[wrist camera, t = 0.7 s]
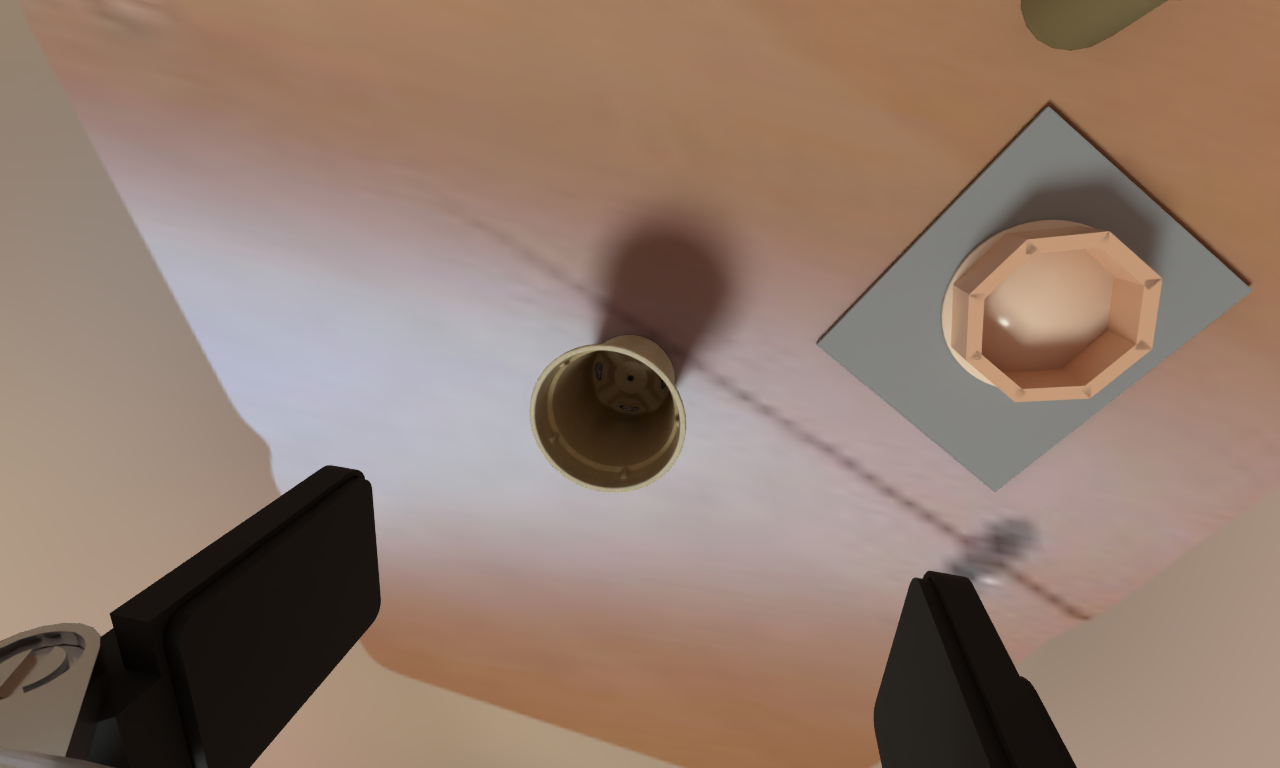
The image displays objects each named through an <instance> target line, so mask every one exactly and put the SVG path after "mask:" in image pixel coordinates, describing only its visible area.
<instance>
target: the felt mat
mask: <svg viewBox="0 0 1280 768" xmlns="http://www.w3.org/2000/svg"><path fill="white" fill-rule="evenodd" d="M1049 219H1054V220H1066V221H1071V222H1076V223H1080V224H1084V225H1087V226H1090V227H1092V228H1095V229H1100V230H1106V231H1110V232H1111V233H1112V234H1113V235H1114V236H1115V237H1117V238H1118V239H1119V240H1120V241H1121V242H1122V243H1123V244H1124V245H1126V246H1127V247H1128V248H1129V249H1130V250H1131V251H1132V252H1133V253H1135V254H1136V255H1137V256H1138V257H1139V258H1140V259H1141V260H1142V261H1144V262H1145V263H1146V264H1147V265H1148V266H1149V267H1150V268H1151V269H1152V270H1154V271H1155V272H1156V273H1157V274H1158V275H1159V276H1160V277H1161V278H1163V279H1162V286H1161V293H1160V299H1159V306H1158V313H1157V320H1156V327H1155V333H1154V340H1153V347H1152V350H1150V351H1149V352H1148V353H1147V354H1145V355H1144V356H1143V357H1142V358H1140V359H1139V360H1138V361H1137V362H1135V363H1134V364H1133V365H1132V366H1130V367H1129V368H1128V369H1127V370H1125V371H1124V372H1123V373H1122V374H1120V375H1119V376H1118V377H1117V378H1115V379H1114V380H1113V381H1112V382H1110V383H1109V384H1108V385H1106V386H1105V387H1104V388H1103V389H1101V390H1100V391H1099V392H1098V393H1096V394H1095V395H1094V396H1093V397H1091V398H1090V399H1070V400H1050V401H1029V402H1014V401H1013V400H1012V399H1011V398H1009V397H1008V396H1007V395H1006V394H1005V393H1004V392H1002V391H1001V390H1000V389H999V388H998V387H995V386H993V385H990V384H987V383H985V382H983V381H981V380H979V379H977V378H976V377H974V376H973V375H972V374H970V373H969V372H967V371H966V370H965V369H964V368H963V367H962V366H961V365H960V364H959V363H958V362H957V361H956V359H955V358H954V357H953V355H952V354H951V352H950V351H949V349H948V347H947V345H946V343H945V340H944V337H943V333H942V328H941V315H940V314H941V304H942V300H943V296H944V292H945V290H946V287H947V285H948V282H949V280H950V279H951V277H952V275H953V273H954V271H955V270H956V269H957V267H958V266H959V264H960V263H961V262H962V261H963V260H964V258H965V257H966V256H967V255H968V254H969V253H970V252H971V251H972V250H973V249H975V248H976V247H977V246H978V245H979V244H981V243H982V242H983V241H985V240H986V239H988V238H989V237H991V236H993V235H995V234H996V233H998V232H1000V231H1002V230H1004V229H1007V228H1009V227H1012V226H1014V225H1018V224H1021V223H1025V222H1030V221H1036V220H1049ZM1251 291H1252V289H1251V288H1249V287H1248V286H1247V285H1246V284H1245V283H1244V282H1243V281H1242V280H1241V279H1239V278H1238V277H1237V276H1236V275H1235V274H1234V273H1233V272H1232V271H1231V270H1229V269H1228V268H1227V267H1226V266H1225V265H1224V264H1223V263H1222V262H1221V261H1220V260H1218V259H1217V258H1216V257H1215V256H1214V255H1213V254H1212V253H1211V252H1210V251H1208V250H1207V249H1206V248H1205V247H1204V246H1203V245H1202V244H1201V243H1200V242H1198V241H1197V240H1196V239H1195V238H1194V237H1193V236H1192V235H1191V234H1190V233H1188V232H1187V231H1186V230H1185V229H1184V228H1183V227H1182V226H1181V225H1180V224H1179V223H1177V222H1176V221H1175V220H1174V219H1173V218H1172V217H1171V216H1170V215H1169V214H1167V213H1166V212H1165V211H1164V210H1163V209H1162V208H1161V207H1160V206H1159V205H1157V204H1156V203H1155V202H1154V201H1153V200H1152V199H1151V198H1150V197H1149V196H1148V195H1146V194H1145V193H1144V192H1143V191H1142V190H1141V189H1140V188H1139V187H1138V186H1136V185H1135V184H1134V183H1133V182H1132V181H1131V180H1130V179H1129V178H1128V177H1126V176H1125V175H1124V174H1123V173H1122V172H1121V171H1120V170H1119V169H1118V168H1117V167H1115V166H1114V165H1113V164H1112V163H1111V162H1110V161H1109V160H1108V159H1107V158H1105V157H1104V156H1103V155H1102V154H1101V153H1100V152H1099V151H1098V150H1097V149H1095V148H1094V147H1093V146H1092V145H1091V144H1090V143H1089V142H1088V141H1087V140H1085V139H1084V138H1083V137H1082V136H1081V135H1080V134H1079V133H1078V132H1077V131H1076V130H1074V129H1073V128H1072V127H1071V126H1070V125H1069V124H1068V123H1067V122H1066V121H1064V120H1063V119H1062V118H1061V117H1060V116H1059V115H1058V114H1057V113H1056V112H1054V111H1053V110H1052V109H1051V108H1050V107H1049V106H1047V107H1045V108H1044V109H1043V110H1042V111H1041V112H1040V113H1039V114H1038V115H1037V116H1036V117H1035V118H1034V119H1033V120H1032V121H1031V122H1030V123H1029V124H1028V125H1027V126H1026V127H1025V128H1024V129H1023V130H1022V131H1021V133H1020V134H1019V135H1018V136H1017V137H1016V138H1015V139H1014V140H1013V141H1012V142H1011V143H1010V144H1009V145H1008V146H1007V147H1006V148H1005V149H1004V150H1003V151H1002V152H1001V153H1000V154H999V155H998V156H997V157H996V158H995V159H994V160H993V161H992V162H991V163H990V165H989V166H988V167H987V168H986V169H985V170H984V171H983V172H982V173H981V174H980V175H979V176H978V177H977V178H976V179H975V180H974V181H973V182H972V183H971V184H970V185H969V186H968V187H967V188H966V189H965V190H964V191H963V192H962V193H961V194H960V195H959V197H958V198H957V199H956V200H955V201H954V202H953V203H952V204H951V205H950V206H949V207H948V208H947V209H946V210H945V211H944V212H943V213H942V214H941V215H940V216H939V217H938V218H937V219H936V220H935V221H934V222H933V223H932V224H931V225H930V226H929V228H928V229H927V230H926V231H925V232H924V233H923V234H922V235H921V236H920V237H919V238H918V239H917V240H916V241H915V242H914V243H913V244H912V245H911V246H910V247H909V248H908V249H907V250H906V251H905V252H904V253H903V254H902V255H901V256H900V257H899V258H898V260H897V261H896V262H895V263H894V264H893V265H892V266H891V267H890V268H889V269H888V270H887V271H886V272H885V273H884V274H883V275H882V276H881V277H880V278H879V279H878V280H877V281H876V282H875V283H874V284H873V285H872V286H871V287H870V288H869V289H868V290H867V292H866V293H865V294H864V295H863V296H862V297H861V298H860V299H859V300H858V301H857V302H856V303H855V304H854V305H853V306H852V307H851V308H850V309H849V310H848V311H847V312H846V313H845V314H844V315H843V316H842V317H841V318H840V319H839V320H838V321H837V322H836V324H835V325H834V326H833V327H832V328H831V329H830V330H829V331H828V332H827V333H826V334H825V335H824V336H823V337H822V338H821V339H820V340H819V341H818V342H817V343H816V344H817V345H818V346H819V347H820V348H821V349H822V350H824V351H825V352H826V353H827V354H828V355H830V356H831V357H832V358H833V359H834V360H836V361H837V362H838V363H839V364H840V365H842V366H843V367H844V368H845V369H847V370H848V371H849V372H850V373H851V374H853V375H854V376H855V377H856V378H857V379H859V380H860V381H861V382H862V383H863V384H865V385H866V386H867V387H868V388H869V389H871V390H872V391H873V392H874V393H875V394H877V395H878V396H879V397H880V398H881V399H883V400H884V401H885V402H886V403H888V404H889V405H890V406H891V407H892V408H894V409H895V410H896V411H897V412H898V413H900V414H901V415H902V416H903V417H904V418H906V419H907V420H908V421H909V422H910V423H912V424H913V425H914V426H915V427H916V428H918V429H919V430H920V431H921V432H923V433H924V434H925V435H926V436H927V437H929V438H930V439H931V440H932V441H933V442H935V443H936V444H937V445H938V446H939V447H941V448H942V449H943V450H944V451H945V452H947V453H948V454H949V455H950V456H951V457H953V458H954V459H955V460H956V461H958V462H959V463H960V464H961V465H962V466H964V467H965V468H966V469H967V470H968V471H970V472H971V473H972V474H973V475H974V476H976V477H977V478H978V479H979V480H980V481H982V482H983V483H984V484H985V485H986V486H988V487H989V488H990V489H991V490H992V491H994V492H996V491H997V490H998V489H1000V488H1001V487H1002V486H1003V485H1005V484H1006V483H1007V482H1009V481H1010V480H1011V479H1012V478H1014V477H1015V476H1016V475H1017V474H1019V473H1020V472H1021V471H1023V470H1024V469H1025V468H1026V467H1028V466H1029V465H1030V464H1032V463H1033V462H1034V461H1035V460H1037V459H1038V458H1039V457H1040V456H1042V455H1043V454H1044V453H1046V452H1047V451H1048V450H1049V449H1051V448H1052V447H1053V446H1054V445H1056V444H1057V443H1058V442H1060V441H1061V440H1062V439H1063V438H1065V437H1066V436H1067V435H1069V434H1070V433H1071V432H1072V431H1074V430H1075V429H1076V428H1077V427H1079V426H1080V425H1081V424H1083V423H1084V422H1085V421H1086V420H1088V419H1089V418H1090V417H1091V416H1093V415H1094V414H1095V413H1097V412H1098V411H1099V410H1100V409H1102V408H1103V407H1104V406H1105V405H1107V404H1108V403H1109V402H1111V401H1112V400H1113V399H1114V398H1116V397H1117V396H1118V395H1120V394H1121V393H1122V392H1123V391H1125V390H1126V389H1127V388H1128V387H1130V386H1131V385H1132V384H1134V383H1135V382H1136V381H1137V380H1139V379H1140V378H1141V377H1142V376H1144V375H1145V374H1146V373H1148V372H1149V371H1150V370H1151V369H1153V368H1154V367H1155V366H1157V365H1158V364H1159V363H1160V362H1162V361H1163V360H1164V359H1165V358H1167V357H1168V356H1169V355H1171V354H1172V353H1173V352H1174V351H1176V350H1177V349H1178V348H1179V347H1181V346H1182V345H1183V344H1185V343H1186V342H1187V341H1188V340H1190V339H1191V338H1192V337H1194V336H1195V335H1196V334H1197V333H1199V332H1200V331H1201V330H1202V329H1204V328H1205V327H1206V326H1208V325H1209V324H1210V323H1211V322H1213V321H1214V320H1215V319H1216V318H1218V317H1219V316H1220V315H1222V314H1223V313H1224V312H1225V311H1227V310H1228V309H1229V308H1230V307H1232V306H1233V305H1234V304H1236V303H1237V302H1238V301H1239V300H1241V299H1242V298H1243V297H1245V296H1246V295H1247V294H1248V293H1250V292H1251Z"/></svg>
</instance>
